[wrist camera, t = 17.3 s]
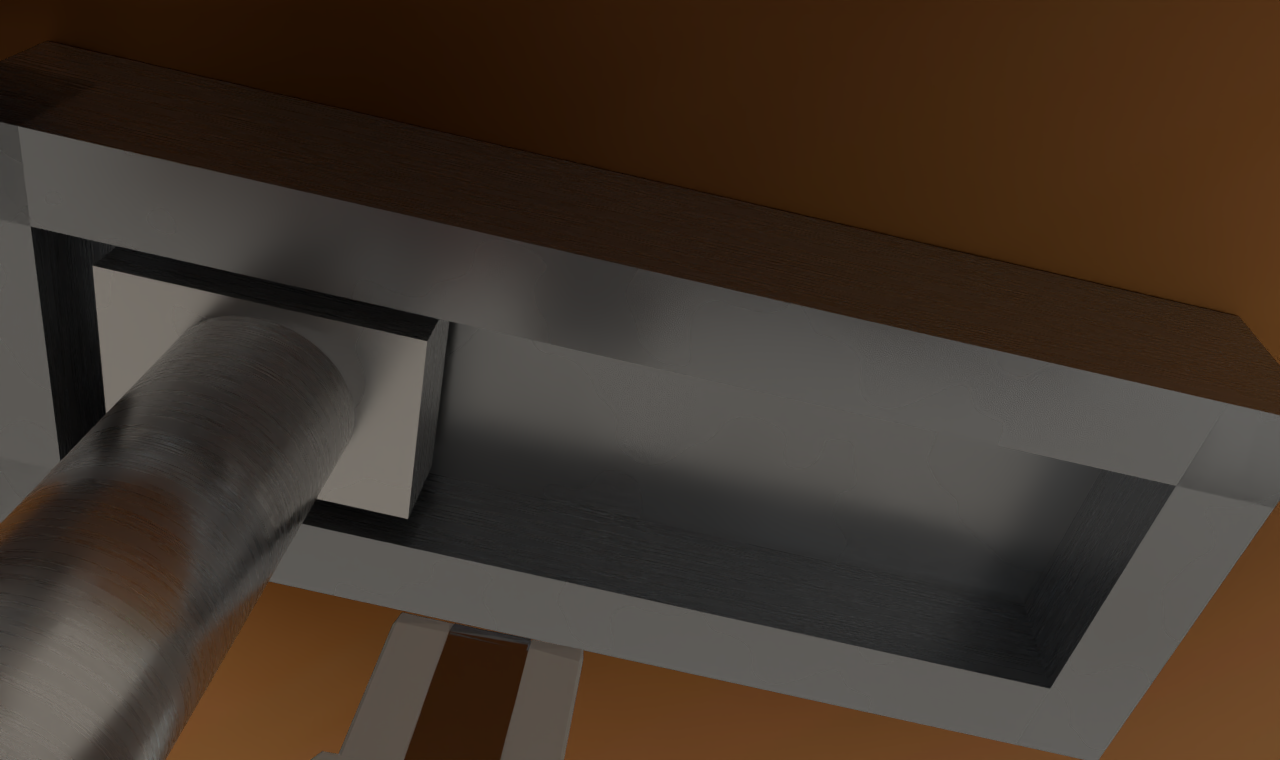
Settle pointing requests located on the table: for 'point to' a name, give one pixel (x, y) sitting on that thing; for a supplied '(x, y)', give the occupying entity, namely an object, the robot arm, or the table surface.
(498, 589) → the lever rail
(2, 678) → the lever
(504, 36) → the table surface
